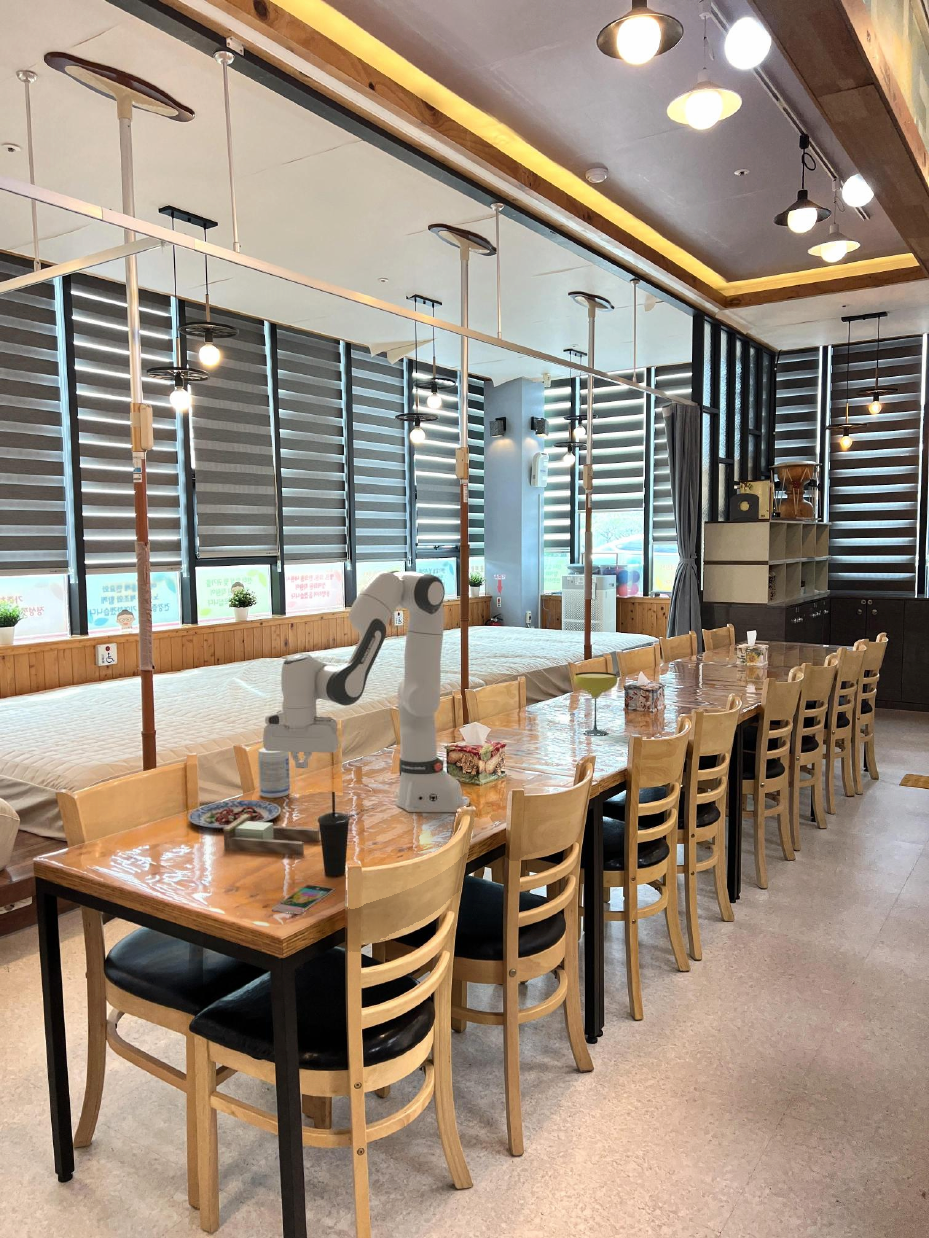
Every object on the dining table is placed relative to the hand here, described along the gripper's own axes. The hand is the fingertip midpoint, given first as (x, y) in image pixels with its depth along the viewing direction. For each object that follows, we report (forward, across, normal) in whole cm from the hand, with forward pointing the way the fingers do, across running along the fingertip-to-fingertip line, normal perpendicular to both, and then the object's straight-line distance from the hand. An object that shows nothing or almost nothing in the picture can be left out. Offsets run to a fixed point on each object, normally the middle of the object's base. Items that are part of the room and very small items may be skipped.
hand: (301, 767), depth 229 cm
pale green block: (+20, +13, +4) cm, 24 cm away
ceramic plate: (+20, +28, -14) cm, 37 cm away
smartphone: (+21, -15, +36) cm, 44 cm away
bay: (+20, +7, +4) cm, 21 cm away
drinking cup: (+20, -16, +20) cm, 33 cm away
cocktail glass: (+23, -66, -154) cm, 169 cm away
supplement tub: (+20, +28, -40) cm, 52 cm away
